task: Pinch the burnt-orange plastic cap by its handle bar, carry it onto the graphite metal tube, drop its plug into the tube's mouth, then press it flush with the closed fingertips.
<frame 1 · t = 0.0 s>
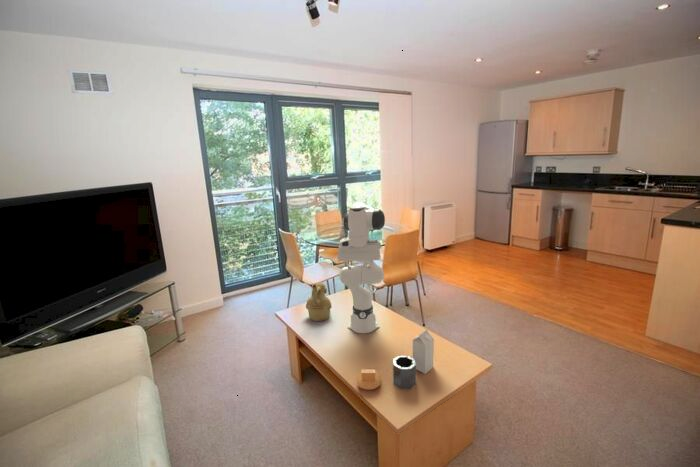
hand: (359, 269, 150), 48 cm above the table, tool pointing down, fingers open, 8 cm apart
ceramic vessel: (319, 317, 206), on the table
milk carton: (422, 367, 152), on the table
orange cap: (368, 384, 142), on the table
graphite tube: (404, 381, 142), on the table
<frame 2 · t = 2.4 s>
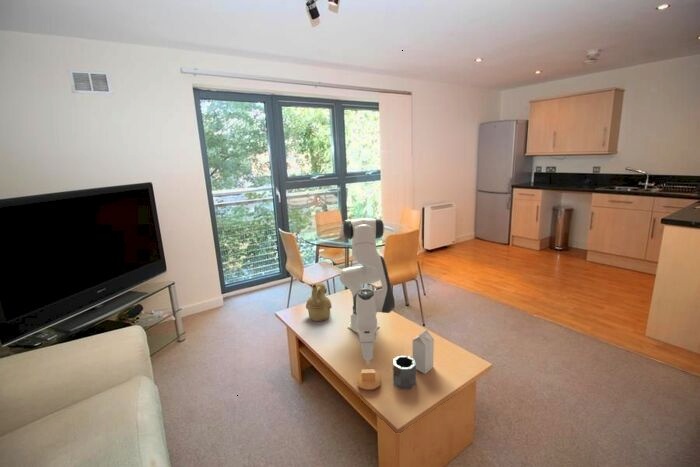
hand: (368, 356, 138), 14 cm above the table, tool pointing down, fingers open, 8 cm apart
nothing on the table moved.
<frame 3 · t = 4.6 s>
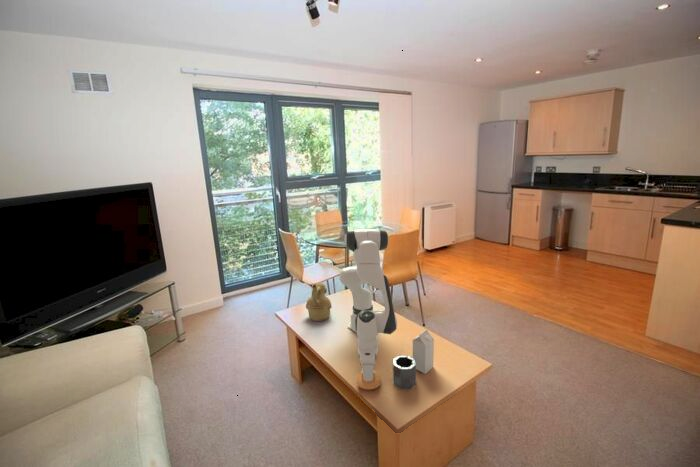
hand: (368, 376, 141), 4 cm above the table, tool pointing down, fingers closed on orange cap, 2 cm apart
orange cap: (368, 384, 142), on the table, touching gripper
everything else where it was.
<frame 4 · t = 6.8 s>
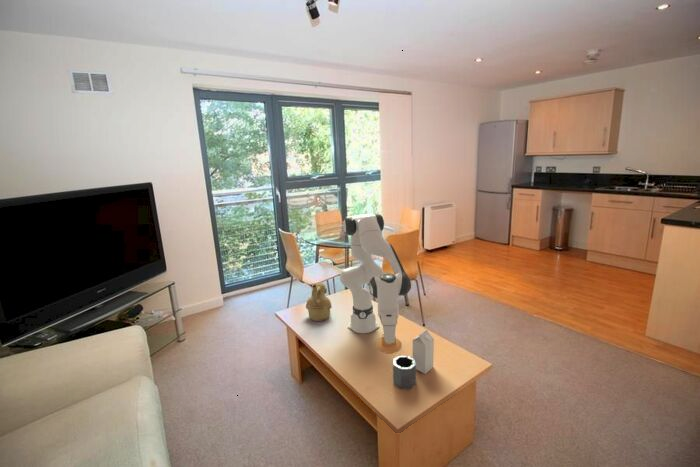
hand: (388, 340, 137), 21 cm above the table, tool pointing down, fingers closed on orange cap, 2 cm apart
orange cap: (388, 349, 138), point 17 cm above the table, touching gripper
everything else where it was.
when the fingers open (13 cm above the table, at t = 9.1 s): orange cap stays where it is, resting on graphite tube.
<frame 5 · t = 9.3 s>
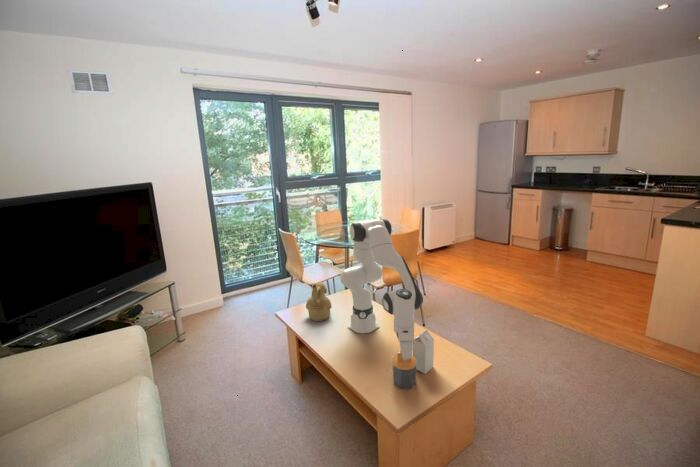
hand: (404, 355, 140), 13 cm above the table, tool pointing down, fingers open, 5 cm apart
orange cap: (404, 366, 141), point 8 cm above the table, touching graphite tube
everything else where it was.
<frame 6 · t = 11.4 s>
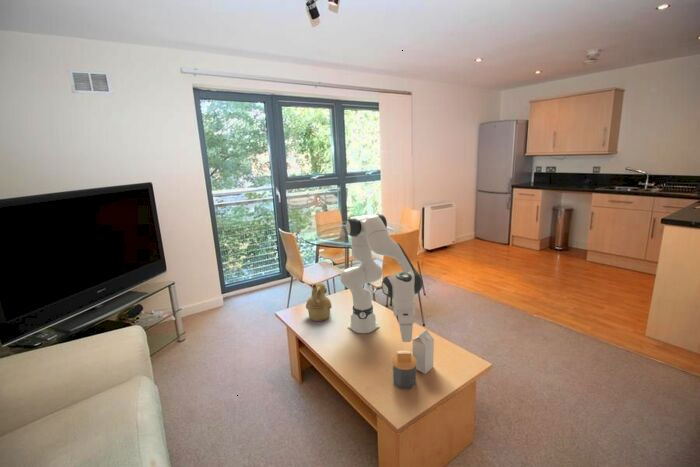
hand: (404, 339, 138), 21 cm above the table, tool pointing down, fingers closed
nothing on the table moved.
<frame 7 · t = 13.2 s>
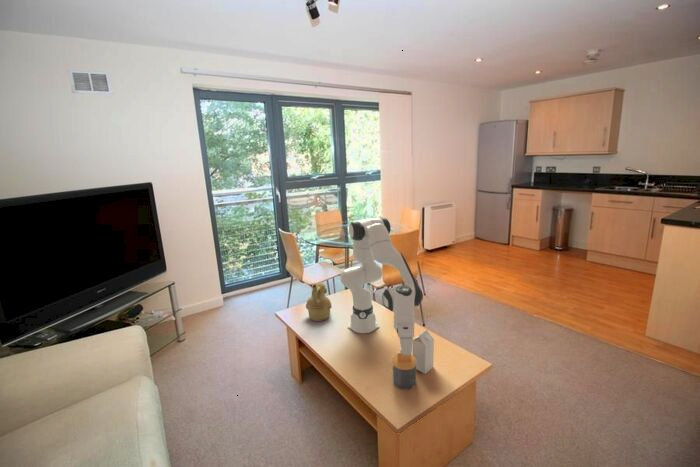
hand: (404, 352, 139), 15 cm above the table, tool pointing down, fingers closed, pressing on orange cap
orange cap: (404, 366, 141), point 8 cm above the table, touching graphite tube, gripper
everything else where it was.
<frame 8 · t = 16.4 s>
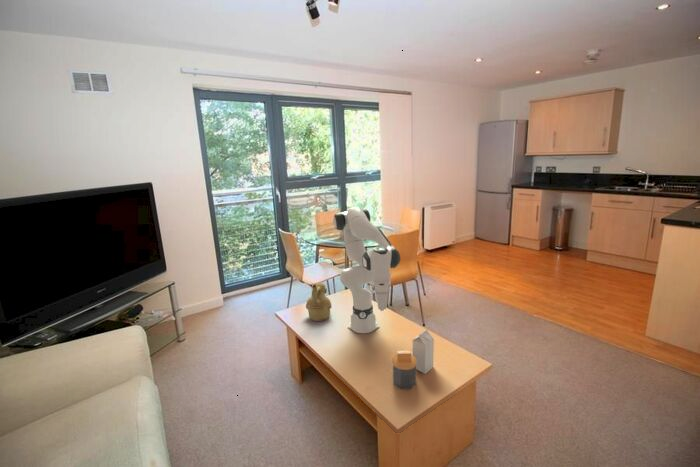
hand: (381, 309, 149), 29 cm above the table, tool pointing down, fingers closed
orange cap: (404, 366, 141), point 8 cm above the table, touching graphite tube
everything else where it was.
at the end: orange cap 0.1 cm off-centre on the graphite tube, point 8.0 cm above the graphite tube's base; orange cap tilted 0°; the gripper is holding nothing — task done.
